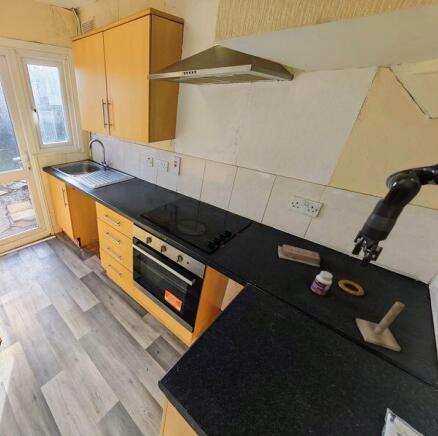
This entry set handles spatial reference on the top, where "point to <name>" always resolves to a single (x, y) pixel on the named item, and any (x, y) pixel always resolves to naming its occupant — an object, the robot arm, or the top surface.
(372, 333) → the wooden peg stand
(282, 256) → the packaged product
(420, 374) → the top surface
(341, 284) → the ring
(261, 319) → the top surface
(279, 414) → the top surface
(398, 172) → the robot arm
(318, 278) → the pill bottle
